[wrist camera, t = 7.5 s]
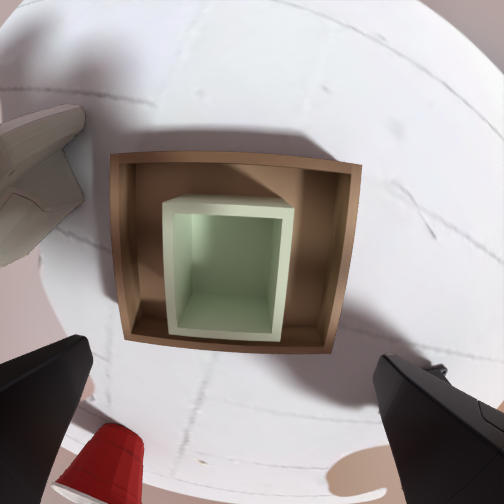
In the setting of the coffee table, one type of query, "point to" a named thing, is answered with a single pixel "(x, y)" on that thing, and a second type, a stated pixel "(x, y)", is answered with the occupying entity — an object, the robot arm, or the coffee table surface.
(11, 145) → the digital clock
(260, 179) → the big crate
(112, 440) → the plastic cup
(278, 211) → the small crate
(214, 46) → the coffee table surface
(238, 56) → the coffee table surface
